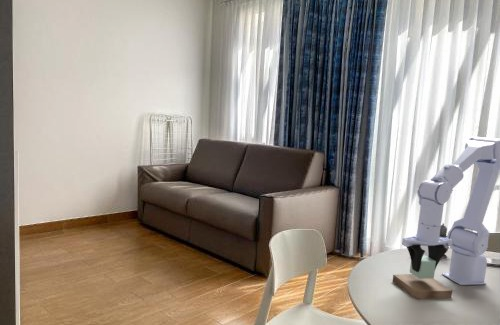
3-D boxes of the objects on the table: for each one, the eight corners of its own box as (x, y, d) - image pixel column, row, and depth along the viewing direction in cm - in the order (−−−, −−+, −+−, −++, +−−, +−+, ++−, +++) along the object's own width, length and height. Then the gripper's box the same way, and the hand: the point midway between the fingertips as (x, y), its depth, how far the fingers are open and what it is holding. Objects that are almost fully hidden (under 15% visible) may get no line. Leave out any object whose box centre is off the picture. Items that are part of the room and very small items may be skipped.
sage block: (423, 271, 112) (425, 255, 112) (433, 278, 108) (435, 261, 108) (409, 272, 111) (411, 255, 111) (419, 278, 107) (421, 261, 107)
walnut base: (425, 280, 116) (425, 273, 116) (451, 297, 106) (452, 290, 106) (392, 281, 114) (393, 274, 114) (416, 299, 103) (417, 291, 103)
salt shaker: (450, 259, 136) (454, 226, 135) (432, 256, 138) (436, 224, 136) (445, 253, 142) (449, 222, 141) (428, 251, 143) (432, 220, 142)
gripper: (441, 219, 113) (435, 264, 115) (397, 219, 110) (392, 265, 111) (459, 226, 106) (453, 274, 108) (413, 226, 103) (407, 275, 105)
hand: (423, 270), depth 109 cm, fingers closed on sage block, 4 cm apart
